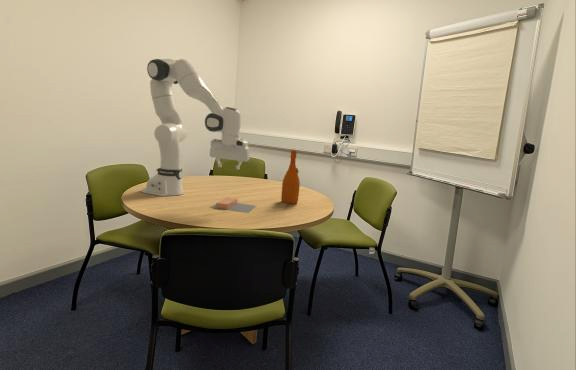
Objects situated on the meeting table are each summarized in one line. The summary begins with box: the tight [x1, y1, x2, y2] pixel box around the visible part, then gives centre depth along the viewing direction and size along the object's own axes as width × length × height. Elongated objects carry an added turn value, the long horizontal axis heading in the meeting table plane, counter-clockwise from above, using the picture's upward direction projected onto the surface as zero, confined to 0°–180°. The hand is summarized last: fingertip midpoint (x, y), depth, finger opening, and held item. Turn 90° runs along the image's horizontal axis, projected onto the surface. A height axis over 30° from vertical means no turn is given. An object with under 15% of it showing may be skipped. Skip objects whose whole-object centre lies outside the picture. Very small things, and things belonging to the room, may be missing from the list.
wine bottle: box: [280, 149, 301, 205], centre depth 199 cm, size 10×10×30 cm
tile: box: [215, 196, 239, 210], centre depth 181 cm, size 6×2×14 cm
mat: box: [209, 202, 257, 214], centre depth 180 cm, size 20×15×1 cm
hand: (228, 168), depth 178 cm, fingers open, 8 cm apart
